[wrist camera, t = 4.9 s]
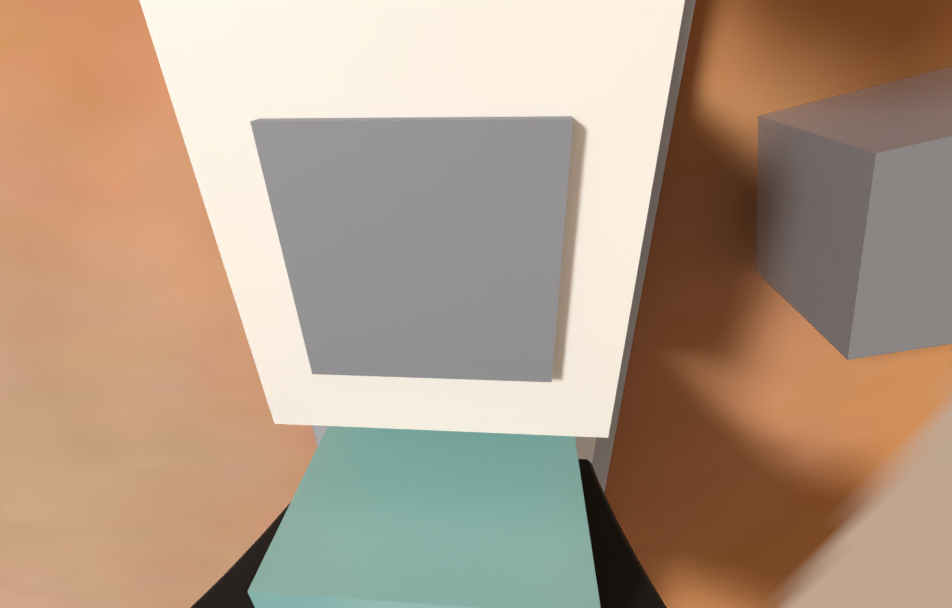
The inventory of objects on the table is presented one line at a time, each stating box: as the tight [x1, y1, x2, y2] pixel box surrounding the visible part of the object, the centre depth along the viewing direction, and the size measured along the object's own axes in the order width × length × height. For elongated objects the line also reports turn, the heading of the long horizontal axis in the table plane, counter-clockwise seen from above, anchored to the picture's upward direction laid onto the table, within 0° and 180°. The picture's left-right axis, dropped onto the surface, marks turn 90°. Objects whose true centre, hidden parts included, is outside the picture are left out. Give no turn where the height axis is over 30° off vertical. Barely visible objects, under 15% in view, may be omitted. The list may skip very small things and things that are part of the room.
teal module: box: [247, 426, 601, 608], centre depth 10 cm, size 6×4×7 cm
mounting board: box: [140, 0, 696, 493], centre depth 12 cm, size 22×10×7 cm, turn 1°
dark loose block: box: [756, 66, 952, 360], centre depth 9 cm, size 4×4×4 cm
